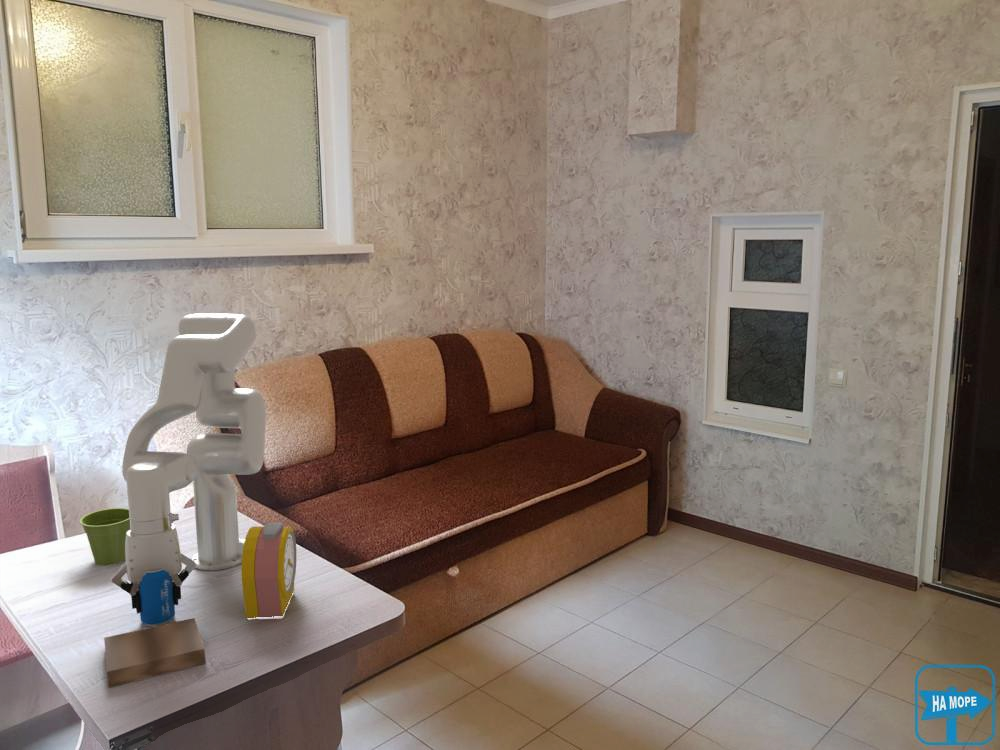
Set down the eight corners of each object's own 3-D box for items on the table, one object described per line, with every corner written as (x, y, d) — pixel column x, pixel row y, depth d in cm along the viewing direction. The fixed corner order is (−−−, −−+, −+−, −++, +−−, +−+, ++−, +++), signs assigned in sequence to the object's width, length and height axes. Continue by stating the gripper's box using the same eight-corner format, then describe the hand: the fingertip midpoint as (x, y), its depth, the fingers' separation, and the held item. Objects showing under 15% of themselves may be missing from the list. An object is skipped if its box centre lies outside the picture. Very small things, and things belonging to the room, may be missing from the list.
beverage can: (153, 631, 152) (148, 575, 150) (134, 622, 155) (129, 567, 153) (182, 618, 157) (178, 563, 155) (162, 609, 160) (158, 556, 158)
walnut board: (195, 631, 152) (194, 617, 151) (205, 663, 140) (204, 648, 140) (105, 652, 144) (104, 637, 143) (108, 687, 133) (107, 671, 132)
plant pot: (77, 559, 185) (73, 515, 183) (129, 546, 193) (126, 504, 191) (91, 575, 176) (87, 529, 174) (145, 561, 184) (141, 517, 182)
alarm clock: (285, 623, 155) (281, 538, 152) (244, 624, 155) (239, 539, 151) (298, 590, 170) (295, 512, 167) (261, 590, 169) (257, 512, 166)
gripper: (194, 510, 160) (199, 590, 163) (101, 525, 151) (109, 608, 155) (199, 522, 153) (204, 604, 156) (103, 538, 145) (110, 624, 148)
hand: (157, 605), depth 155 cm, fingers closed on beverage can, 6 cm apart
